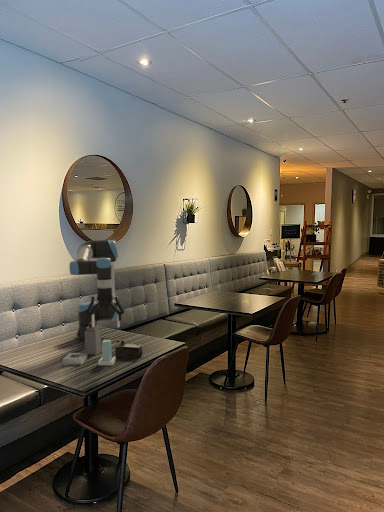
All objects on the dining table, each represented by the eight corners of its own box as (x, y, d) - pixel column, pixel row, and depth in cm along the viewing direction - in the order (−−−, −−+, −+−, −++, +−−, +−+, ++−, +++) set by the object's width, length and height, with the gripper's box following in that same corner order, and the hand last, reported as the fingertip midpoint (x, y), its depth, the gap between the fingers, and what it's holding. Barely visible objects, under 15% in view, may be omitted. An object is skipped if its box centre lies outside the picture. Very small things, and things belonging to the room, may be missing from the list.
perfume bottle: (96, 355, 227) (95, 324, 226) (85, 355, 228) (84, 324, 227) (101, 351, 234) (100, 321, 232) (90, 351, 235) (89, 321, 234)
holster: (102, 361, 217) (102, 356, 217) (115, 361, 217) (115, 356, 217) (98, 366, 210) (98, 361, 210) (112, 366, 210) (112, 361, 209)
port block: (69, 359, 222) (69, 352, 221) (87, 359, 221) (87, 352, 221) (63, 365, 212) (62, 358, 211) (81, 365, 211) (81, 358, 211)
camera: (144, 356, 226) (143, 338, 225) (138, 360, 218) (138, 342, 218) (120, 353, 230) (119, 336, 229) (113, 358, 223) (113, 340, 222)
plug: (104, 361, 216) (103, 339, 215) (111, 361, 215) (111, 339, 214) (102, 364, 212) (101, 341, 211) (110, 364, 211) (109, 341, 210)
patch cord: (81, 352, 233) (81, 350, 233) (82, 352, 233) (82, 350, 233) (73, 359, 221) (73, 357, 221) (75, 359, 221) (75, 357, 221)
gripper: (78, 288, 207) (80, 328, 209) (126, 288, 206) (127, 328, 207) (83, 286, 214) (85, 325, 216) (129, 286, 213) (130, 325, 215)
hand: (105, 326), depth 212 cm, fingers open, 13 cm apart
